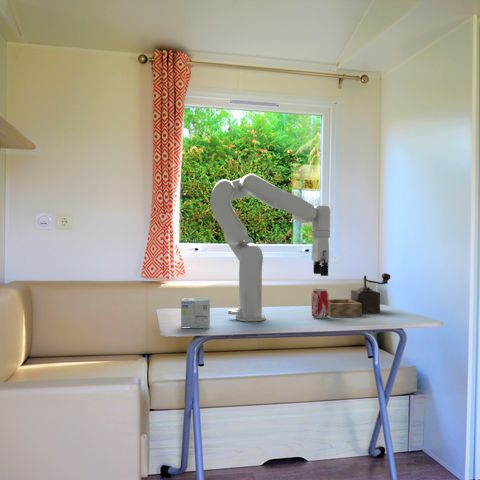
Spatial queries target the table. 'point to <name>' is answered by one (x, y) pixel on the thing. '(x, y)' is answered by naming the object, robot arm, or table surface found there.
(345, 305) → the open wooden box
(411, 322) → the table surface
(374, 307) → the manual coffee grinder
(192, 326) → the light bulb box
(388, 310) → the table surface
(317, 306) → the soda can
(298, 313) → the table surface
